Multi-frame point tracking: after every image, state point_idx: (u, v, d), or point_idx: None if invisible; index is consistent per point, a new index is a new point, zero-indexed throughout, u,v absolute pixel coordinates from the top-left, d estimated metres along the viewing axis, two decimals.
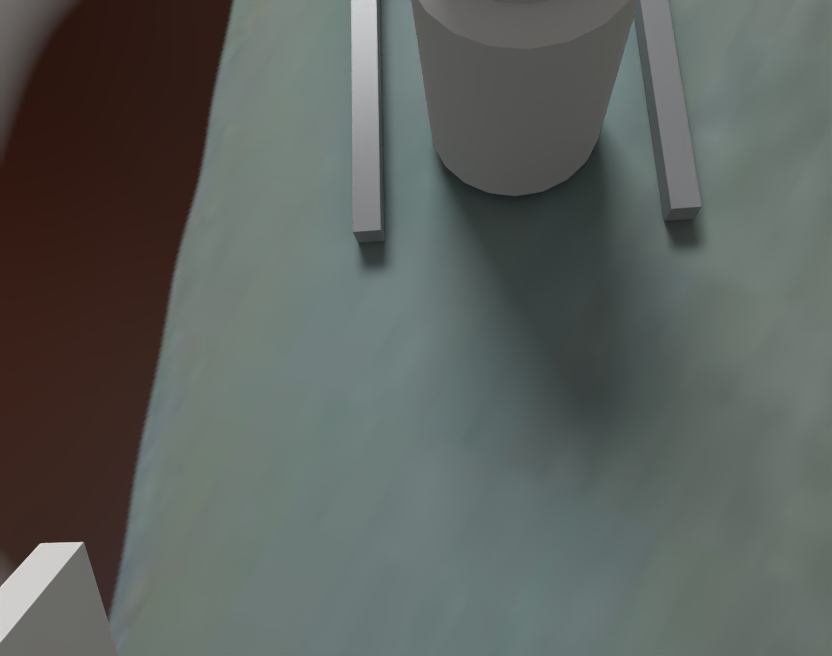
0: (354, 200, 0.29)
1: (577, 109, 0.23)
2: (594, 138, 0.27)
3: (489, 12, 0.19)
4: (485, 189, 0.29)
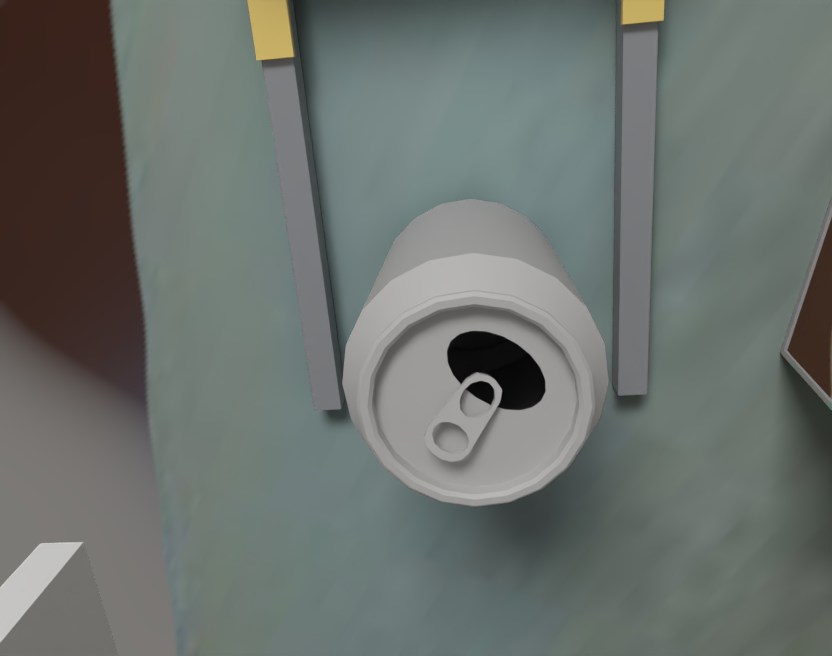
0: (311, 379, 0.29)
1: None
2: None
3: None
4: None
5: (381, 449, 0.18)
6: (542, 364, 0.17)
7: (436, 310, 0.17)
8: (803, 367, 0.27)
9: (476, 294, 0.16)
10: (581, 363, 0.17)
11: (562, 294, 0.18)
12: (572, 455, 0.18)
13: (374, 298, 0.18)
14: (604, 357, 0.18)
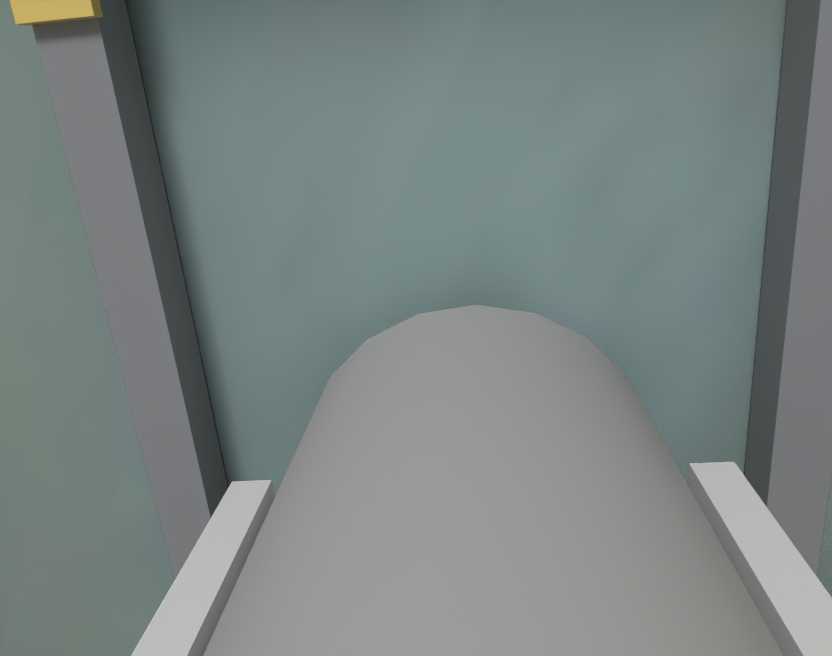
0: None
1: None
2: None
3: None
4: None
5: None
6: None
7: None
8: None
9: None
10: None
11: None
12: None
13: None
14: None
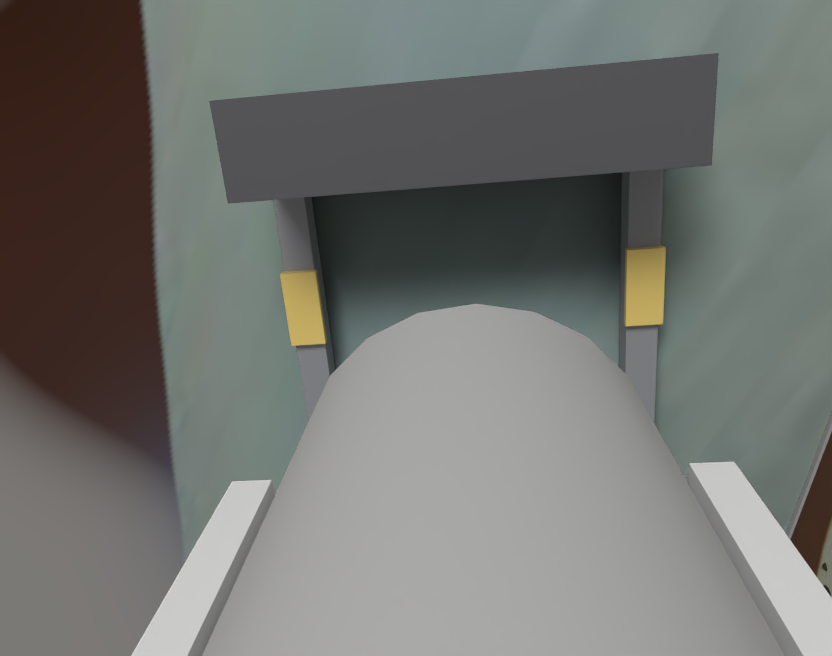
0: None
1: None
2: None
3: None
4: None
5: None
6: None
7: None
8: None
9: None
10: None
11: None
12: None
13: None
14: None
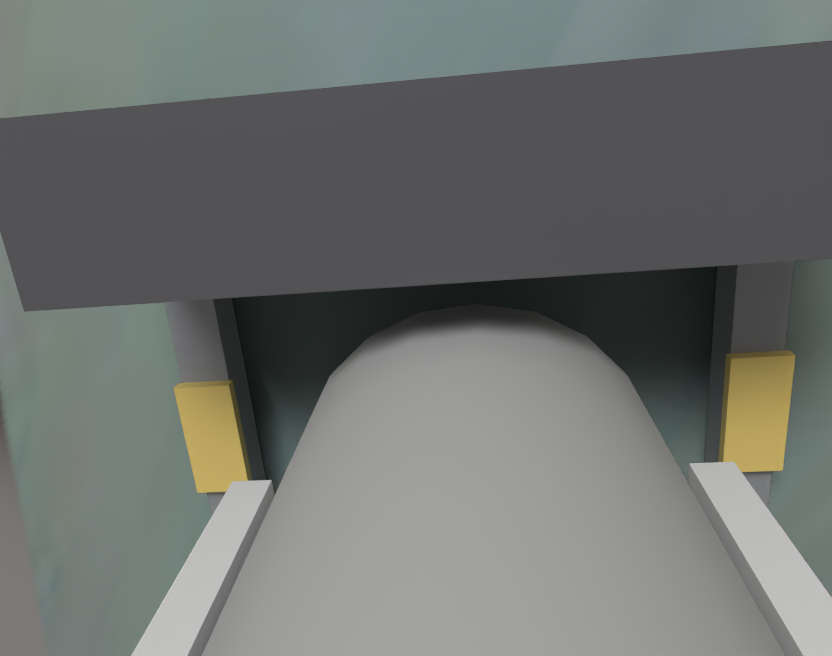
0: None
1: None
2: None
3: None
4: None
5: None
6: None
7: None
8: None
9: None
10: None
11: None
12: None
13: None
14: None
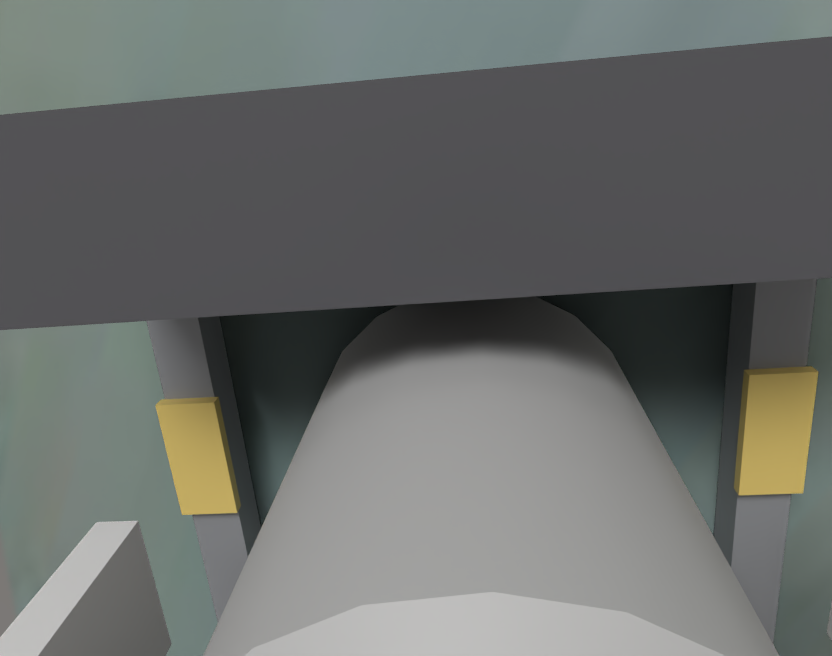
0: None
1: None
2: None
3: None
4: None
5: None
6: None
7: None
8: None
9: None
10: None
11: None
12: None
13: None
14: None
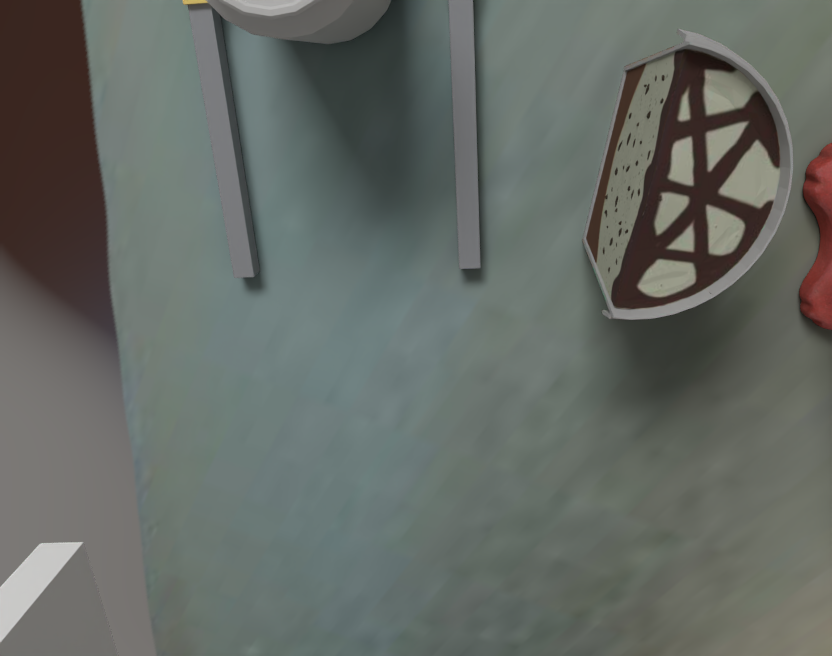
0: (231, 253, 0.39)
1: (349, 26, 0.29)
2: (386, 2, 0.32)
3: (247, 15, 0.25)
4: None
5: None
6: None
7: None
8: (589, 246, 0.36)
9: None
10: None
11: None
12: None
13: None
14: None
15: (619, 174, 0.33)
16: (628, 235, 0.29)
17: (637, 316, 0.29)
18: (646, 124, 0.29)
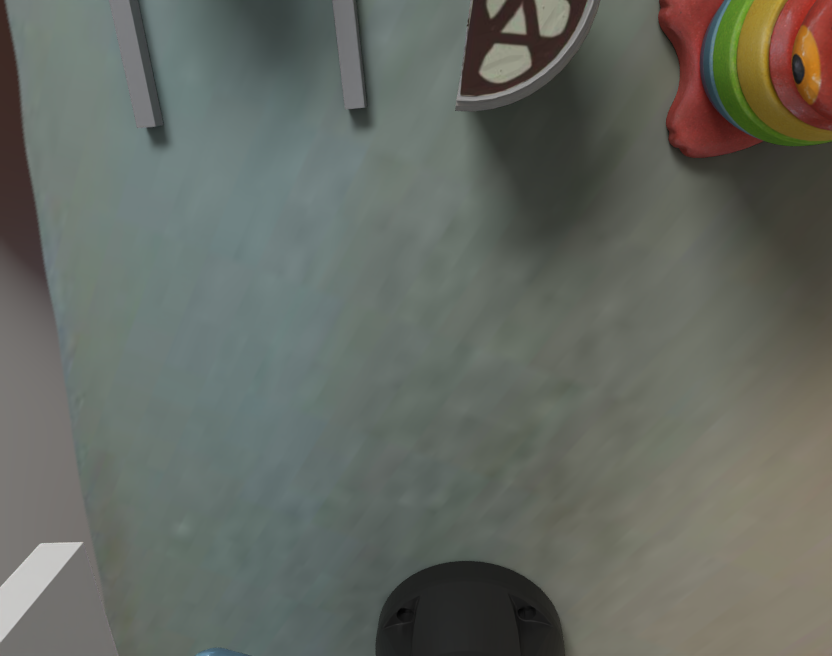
0: (133, 103, 0.41)
1: None
2: None
3: None
4: None
5: None
6: None
7: None
8: (461, 78, 0.39)
9: None
10: None
11: None
12: None
13: None
14: None
15: None
16: (468, 25, 0.32)
17: (478, 98, 0.32)
18: None
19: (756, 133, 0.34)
